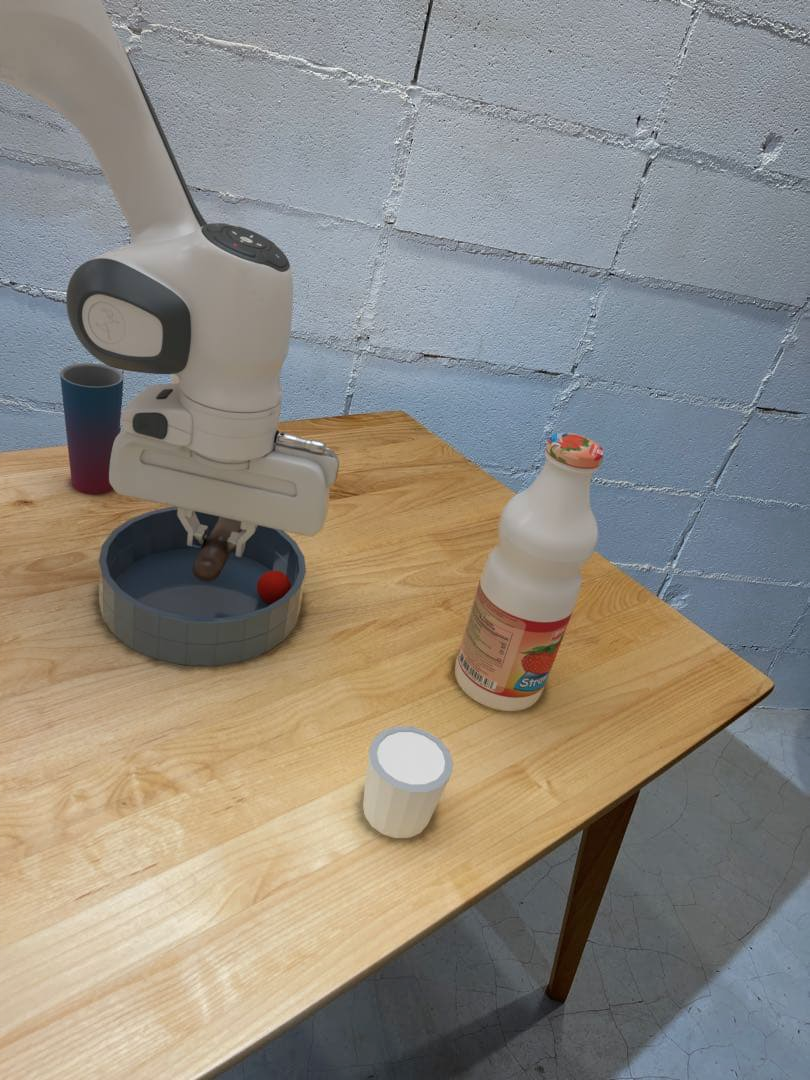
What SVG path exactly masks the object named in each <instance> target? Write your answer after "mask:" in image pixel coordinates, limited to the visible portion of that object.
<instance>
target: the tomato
mask: <svg viewBox="0 0 810 1080" xmlns="http://www.w3.org/2000/svg"><path fill="white" fill-rule="evenodd" d="M290 589H291V583H290V580H289V578H288V577H287V576H286V575H285V574H284V573H282V572H280V571H269V572H266V573H265V574H263V575H262V576H261V577H260V579H259V581H258V584H257V591H258V594H259V596H260V598H261V599H262V600H263V601H265V602H266V603H269V604H273V603H274V602H276V601H278V600H279V599H281V598H282V597H284V596H285V595H286V593H287V592H288V591H289V590H290Z"/></svg>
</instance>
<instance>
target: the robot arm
mask: <svg viewBox="0 0 810 1080" xmlns="http://www.w3.org/2000/svg"><path fill="white" fill-rule="evenodd" d="M0 82H1V83H2V84H5V85H7V86H9V87H11V88H14V89H16V90H19V91H21V92H23V93H25V94H26V95H29V96H31V97H32V98H34V99H36V100H38V101H40V102H41V103H43V104H45V105H46V106H48V107H49V108H50V109H53V110H54V111H56V112H57V113H59V114H60V115H61V116H62V117H63V118H65V119H66V121H68V122H69V123H70V124H72V125H73V127H75V129H76V130H77V131H78V132H79V133H80V134H81V135H82V136H83V138H84V139H85V141H86V142H87V144H88V146H89V147H90V148H91V150H92V152H93V154H94V155H95V158H96V160H97V163H98V164H99V167H100V169H101V170H102V173H103V175H104V177H105V179H106V181H107V183H108V185H109V188H110V190H111V192H112V194H113V195H114V199H115V200H116V202H117V204H118V206H119V208H120V210H121V212H122V215H123V216H124V219H125V221H126V223H127V225H128V227H129V230H130V235H131V236H130V237H131V243H128V244H124V245H121V246H118V247H116V248H112V249H110V250H108V251H105V252H103V253H100V254H98V255H96V256H94V257H92V258H90V259H89V260H87V261H85V262H84V263H82V264H81V265H80V266H78V267H77V268H76V269H75V270H74V272H73V274H72V275H71V277H70V279H69V282H68V284H67V289H66V297H65V299H66V301H65V302H66V303H65V304H66V310H67V311H66V312H67V317H68V320H69V323H70V326H71V329H72V331H73V333H74V334H75V336H76V338H77V339H78V341H79V343H80V344H81V345H82V346H83V348H85V350H86V351H87V352H88V353H89V354H90V355H92V357H94V358H95V359H97V360H98V361H99V362H101V363H103V365H107V366H110V367H113V368H115V369H117V370H120V371H121V370H123V371H128V372H135V373H141V374H150V375H152V374H153V375H172V374H176V375H177V376H178V378H179V383H173V384H171V383H159V384H151V385H150V384H149V385H148V386H146V387H145V388H143V389H142V390H141V391H139V392H137V394H136V395H135V396H134V397H133V398H132V399H131V400H130V401H129V402H128V403H127V404H126V405H125V407H124V409H123V410H122V411H121V419H120V426H121V427H122V429H121V430H120V432H119V434H118V435H117V437H116V438H115V440H114V443H113V447H112V453H111V459H110V468H109V482H110V484H111V486H112V487H113V490H114V491H115V493H116V494H118V495H121V496H124V497H125V496H126V497H129V498H134V499H139V500H143V501H148V502H153V503H156V504H161V505H165V506H166V505H167V506H169V507H178V511H177V516H178V517H179V519H180V521H181V523H182V524H183V526H184V528H185V530H186V531H187V532H188V538H187V545H188V546H193V547H197V548H203V546H204V544H205V543H206V540H207V532H208V526H206V525H202V524H200V522H199V520H198V518H197V516H196V514H195V511H197V512H201V513H206V514H210V515H215V516H219V517H223V518H228V519H232V520H237V521H241V529H242V531H241V532H240V533H237V532H232V533H231V535H230V537H229V538H228V540H227V550H226V554H229V555H233V556H238V557H241V556H242V554H243V552H244V549H245V544H246V541H247V540H248V539H249V538H250V537H251V536H252V535H253V534H254V533H255V531H256V528H257V526H258V525H259V526H264V527H268V528H273V529H277V530H282V531H284V532H285V533H291V534H296V535H299V536H300V535H301V536H305V537H309V538H312V537H315V536H317V535H318V534H319V533H320V532H322V531H323V530H324V527H325V524H326V521H327V517H328V512H329V506H330V505H329V504H330V493H331V492H330V491H331V489H330V488H331V487H332V486H333V485H334V484H335V483H336V481H337V480H338V474H339V468H340V459H339V457H338V455H337V453H336V452H335V451H334V450H333V449H332V448H330V447H327V444H326V442H324V441H321V440H318V439H308V438H304V437H301V436H298V435H295V434H291V433H287V432H283V431H279V430H278V429H279V424H280V416H281V408H282V402H283V386H282V380H281V374H282V370H283V369H282V368H283V365H284V363H285V361H286V359H287V356H288V354H289V351H290V350H289V349H290V343H291V342H290V341H291V333H292V324H293V309H294V307H293V306H294V281H293V271H292V267H291V263H290V261H289V259H288V257H287V255H286V254H285V252H284V251H282V249H281V248H280V247H278V245H276V243H275V242H273V241H272V240H271V239H269V238H268V237H265V236H264V235H262V234H260V233H258V232H256V231H254V230H251V229H248V228H245V227H242V226H236V225H231V224H228V223H222V222H219V223H217V222H216V223H213V222H212V223H207V221H206V220H205V218H204V217H203V215H202V214H201V212H200V210H199V208H198V207H197V204H196V203H195V201H194V198H193V196H192V194H191V192H190V190H189V188H188V187H189V186H188V185H187V183H186V180H185V178H184V175H183V173H182V171H181V169H180V166H179V164H178V162H177V159H176V157H175V155H174V152H173V150H172V148H171V146H170V143H169V140H168V138H167V136H166V134H165V131H164V129H163V127H162V124H161V122H160V120H159V117H158V115H157V113H156V111H155V108H154V106H153V104H152V102H151V99H150V97H149V94H148V93H147V91H146V88H145V86H144V84H143V82H142V80H141V78H140V76H139V74H138V72H137V70H136V68H135V66H134V63H132V60H131V58H130V57H129V55H128V53H127V51H126V49H125V47H124V46H123V44H122V42H121V40H120V38H119V36H118V34H117V32H116V30H115V28H114V27H113V24H112V22H111V20H110V18H109V16H108V14H107V11H106V9H105V6H104V5H103V2H102V1H101V0H0Z"/></svg>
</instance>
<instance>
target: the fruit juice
mask: <svg viewBox="0 0 810 1080" xmlns="http://www.w3.org/2000/svg"><path fill="white" fill-rule="evenodd" d="M544 457H545V462H544V464H543V466H542V468H541V470H540V472H539V473H538V475H536V478H535V479H534V480H533V482H531V484H530V485H529V486H527V487H526V488H524V489H523V490H522V491H519V492H517V494H515V495H513V497H511V498H510V499H508V501H507V503H506V504H505V505H504V507H503V509H502V511H501V514H500V517H499V519H498V525H497V543H496V544H495V546H493V548H492V549H491V550H490V552H489V553H488V556H487V558H486V560H485V563H484V566H483V568H482V571H481V574H480V578H479V582H478V585H477V588H476V592H475V596H474V598H473V602H472V605H471V608H470V612H469V615H468V619H467V623H466V625H465V630H464V633H463V635H462V639H461V642H460V645H459V650H458V653H457V656H456V660H455V664H454V677H455V679H456V682H457V684H458V685H459V687H460V688H461V690H462V691H463V692H464V693H465V694H466V695H467V696H468V697H470V699H472V700H474V701H475V702H477V703H479V704H480V705H483V706H484V707H487V708H490V709H493V710H497V711H502V712H503V711H504V712H517V711H522V710H526V709H529V708H530V707H532V706H534V705H535V704H536V702H537V701H538V700H539V699H540V698H541V695H542V693H543V692H544V690H545V687H546V683H547V682H548V678H549V676H550V673H551V670H552V668H553V665H554V663H555V660H556V658H557V655H558V652H559V650H560V647H561V644H562V641H563V639H564V637H565V633H566V631H567V629H568V625H569V623H570V620H571V618H572V615H573V613H574V610H575V608H576V605H577V603H578V599H579V596H580V593H581V588H582V582H583V577H582V575H583V574H582V570H583V568H584V567H585V566H586V564H588V562H589V561H590V560H591V558H592V556H593V555H594V553H595V550H596V547H597V544H598V539H599V526H598V523H597V519H596V517H595V515H594V512H593V510H592V507H591V484H592V479H593V475H594V474H595V473H596V472H598V470H599V469H600V467H601V465H602V462H603V458H604V450H603V447H602V446H601V445H600V444H599V443H597V442H596V441H594V440H593V439H591V438H589V437H587V436H583V435H580V434H577V433H574V432H564V431H563V432H556V433H553V434H552V435H551V436H550V437H549V438H548V441H547V443H546V445H545V450H544Z"/></svg>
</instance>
